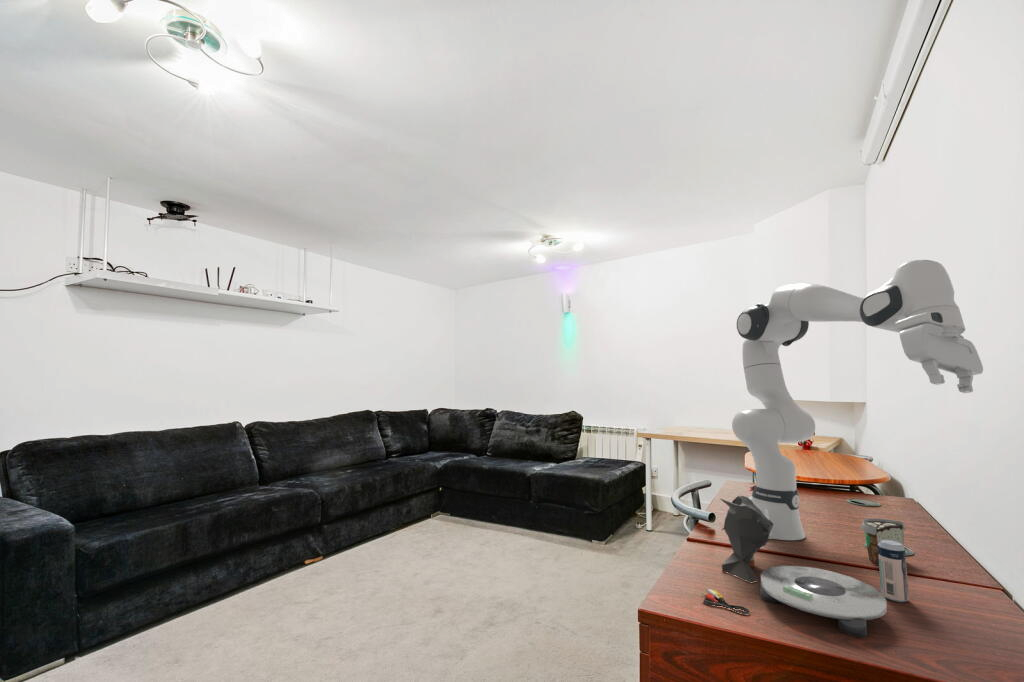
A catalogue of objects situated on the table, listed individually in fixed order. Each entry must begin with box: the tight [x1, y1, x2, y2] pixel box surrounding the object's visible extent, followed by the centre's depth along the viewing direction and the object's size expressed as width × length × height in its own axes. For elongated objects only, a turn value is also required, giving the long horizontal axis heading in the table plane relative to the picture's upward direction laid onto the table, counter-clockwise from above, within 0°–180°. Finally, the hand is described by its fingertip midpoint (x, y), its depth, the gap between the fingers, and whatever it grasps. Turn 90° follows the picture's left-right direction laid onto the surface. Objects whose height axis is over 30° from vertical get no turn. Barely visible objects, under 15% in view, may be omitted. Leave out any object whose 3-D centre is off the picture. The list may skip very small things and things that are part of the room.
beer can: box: [878, 539, 910, 603], centre depth 103 cm, size 5×5×12 cm
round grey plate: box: [759, 565, 888, 638], centre depth 98 cm, size 22×22×6 cm
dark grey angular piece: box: [720, 495, 774, 582], centre depth 120 cm, size 14×15×18 cm
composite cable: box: [700, 587, 751, 614], centre depth 98 cm, size 10×5×2 cm, turn 32°
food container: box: [861, 517, 906, 566], centre depth 125 cm, size 12×6×10 cm, turn 111°
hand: (952, 388), depth 96 cm, fingers open, 8 cm apart
